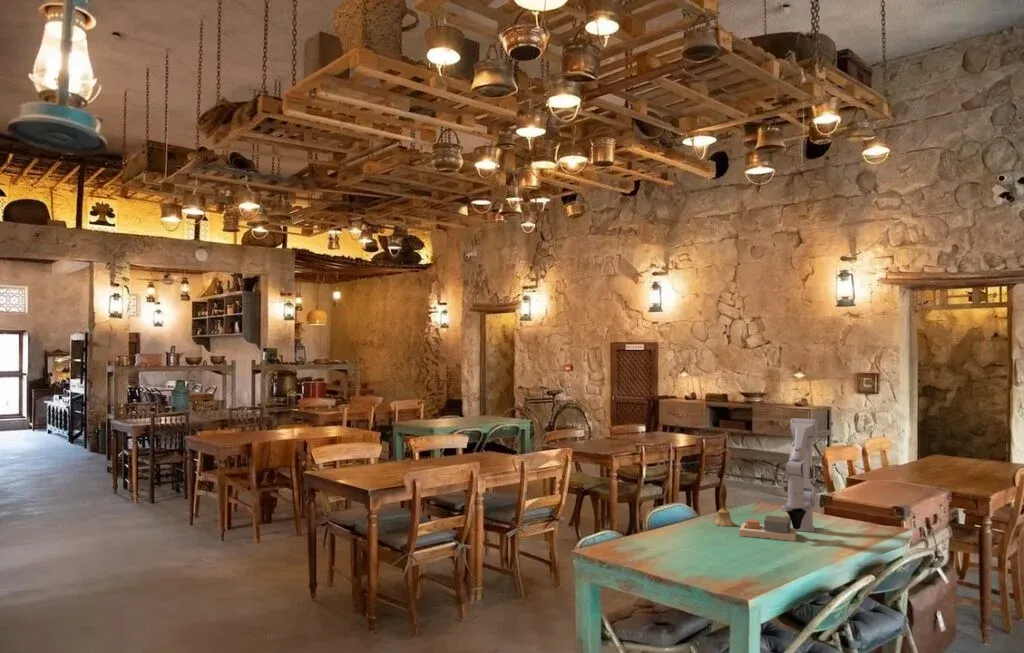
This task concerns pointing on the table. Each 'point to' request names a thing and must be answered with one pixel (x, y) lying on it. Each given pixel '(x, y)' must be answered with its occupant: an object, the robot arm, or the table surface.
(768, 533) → the board
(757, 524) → the block
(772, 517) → the cover
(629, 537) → the table surface
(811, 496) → the robot arm
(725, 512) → the hand bell
